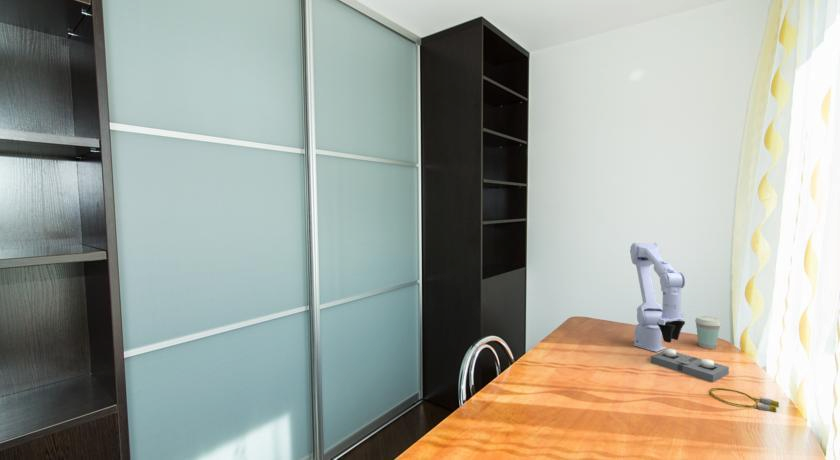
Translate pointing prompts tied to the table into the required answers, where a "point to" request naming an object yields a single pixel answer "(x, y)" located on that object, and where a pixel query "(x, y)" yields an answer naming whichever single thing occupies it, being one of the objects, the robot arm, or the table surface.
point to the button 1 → (670, 352)
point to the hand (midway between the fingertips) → (670, 340)
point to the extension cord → (763, 400)
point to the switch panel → (691, 366)
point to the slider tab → (684, 359)
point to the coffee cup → (707, 331)
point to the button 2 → (707, 363)
